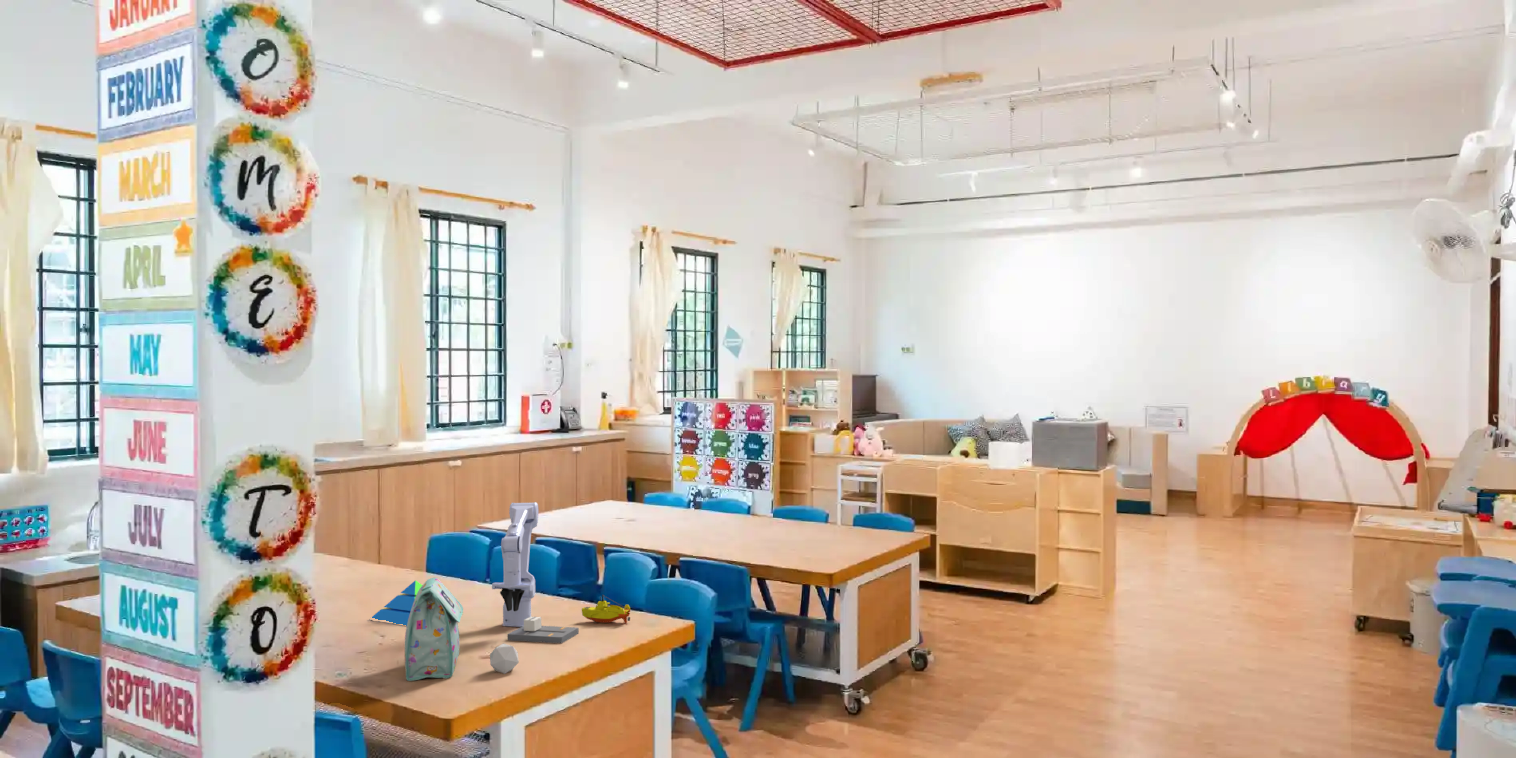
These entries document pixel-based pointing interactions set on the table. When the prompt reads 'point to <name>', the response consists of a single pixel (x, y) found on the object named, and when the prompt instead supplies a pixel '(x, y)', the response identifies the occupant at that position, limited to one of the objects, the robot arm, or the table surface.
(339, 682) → the table surface
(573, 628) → the console board
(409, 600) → the pyramid toy
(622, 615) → the toy boat
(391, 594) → the table surface
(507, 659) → the die
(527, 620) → the fader tab
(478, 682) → the table surface
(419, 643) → the lunch bag
